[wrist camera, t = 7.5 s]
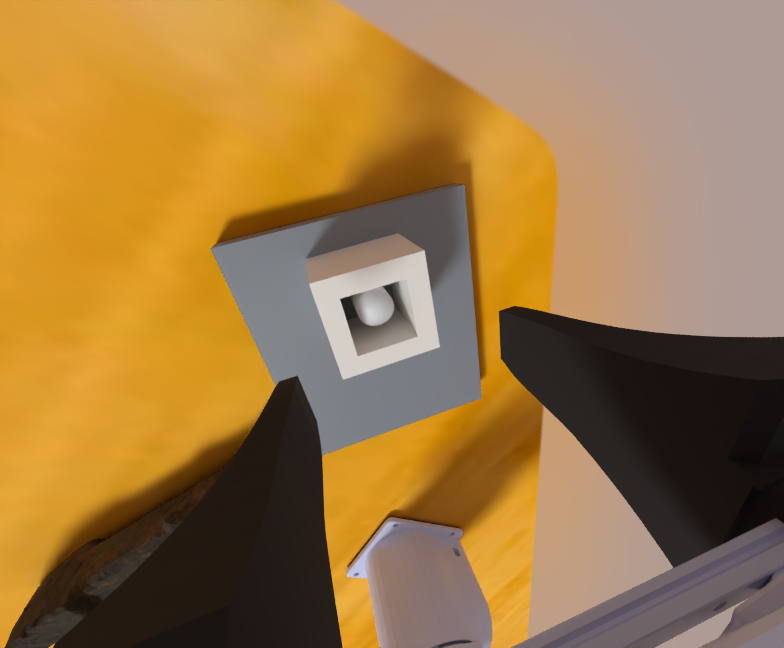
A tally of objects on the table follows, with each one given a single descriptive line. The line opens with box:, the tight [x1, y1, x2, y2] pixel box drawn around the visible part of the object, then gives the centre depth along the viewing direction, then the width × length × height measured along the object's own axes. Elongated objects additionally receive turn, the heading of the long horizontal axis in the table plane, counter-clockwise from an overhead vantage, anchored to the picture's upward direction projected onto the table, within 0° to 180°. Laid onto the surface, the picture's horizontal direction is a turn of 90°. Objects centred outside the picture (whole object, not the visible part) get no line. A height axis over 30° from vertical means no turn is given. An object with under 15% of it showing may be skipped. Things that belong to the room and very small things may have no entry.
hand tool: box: [5, 456, 235, 648], centre depth 21 cm, size 19×4×5 cm, turn 115°
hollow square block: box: [306, 233, 440, 380], centre depth 16 cm, size 5×5×4 cm
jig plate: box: [211, 183, 482, 455], centre depth 19 cm, size 15×13×4 cm
